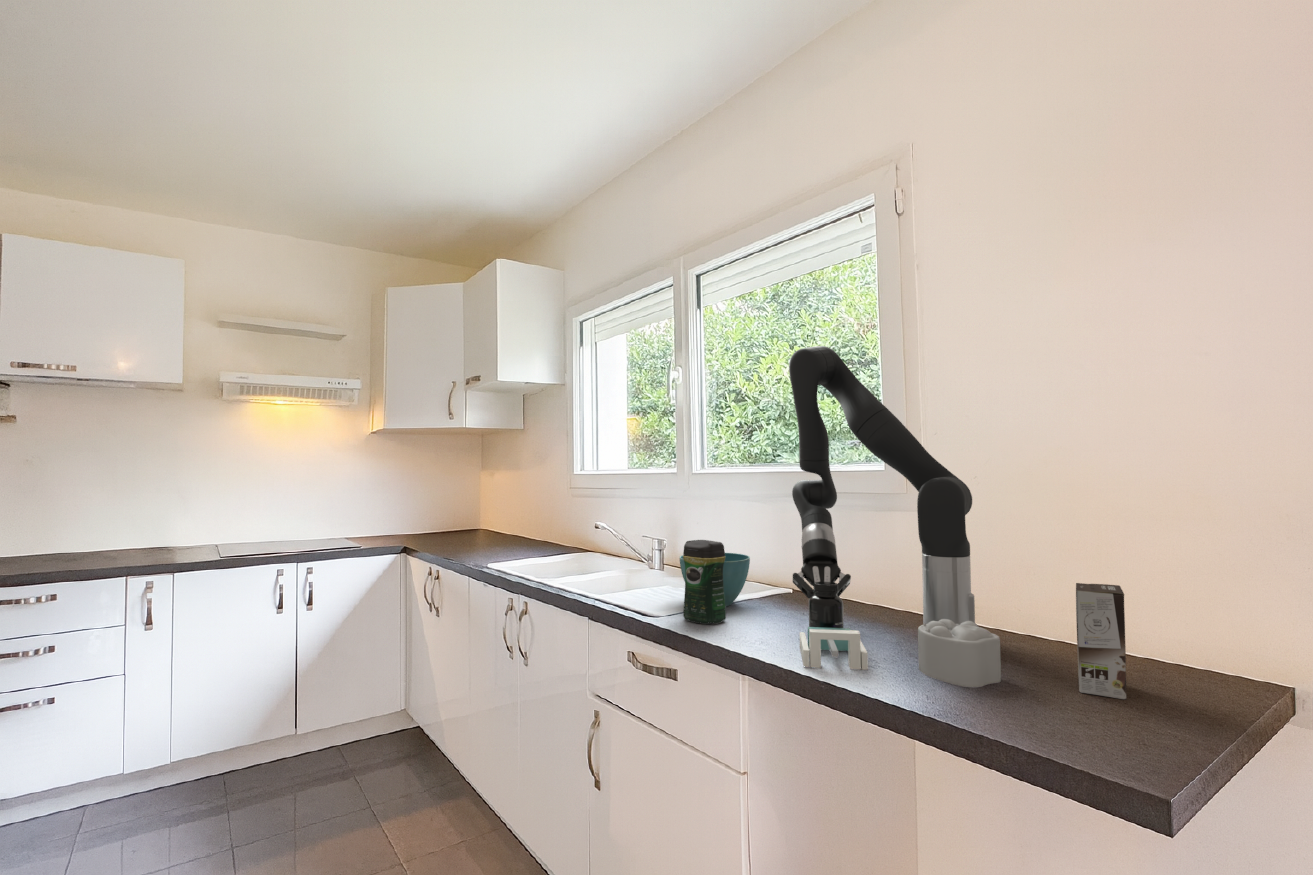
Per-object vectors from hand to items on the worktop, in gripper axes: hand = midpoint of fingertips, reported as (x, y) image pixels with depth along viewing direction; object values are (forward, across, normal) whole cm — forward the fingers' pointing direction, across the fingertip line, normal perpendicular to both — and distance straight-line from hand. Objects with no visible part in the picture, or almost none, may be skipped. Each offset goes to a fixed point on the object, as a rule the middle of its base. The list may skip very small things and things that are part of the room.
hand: (824, 613), depth 140 cm
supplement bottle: (+7, 0, 0) cm, 7 cm away
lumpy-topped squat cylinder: (+19, +20, -12) cm, 30 cm away
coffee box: (+22, +41, -15) cm, 49 cm away
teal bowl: (-18, -25, +25) cm, 40 cm away
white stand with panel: (+14, 0, -8) cm, 16 cm away
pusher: (+14, 0, -8) cm, 17 cm away
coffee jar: (-4, -26, +12) cm, 29 cm away
